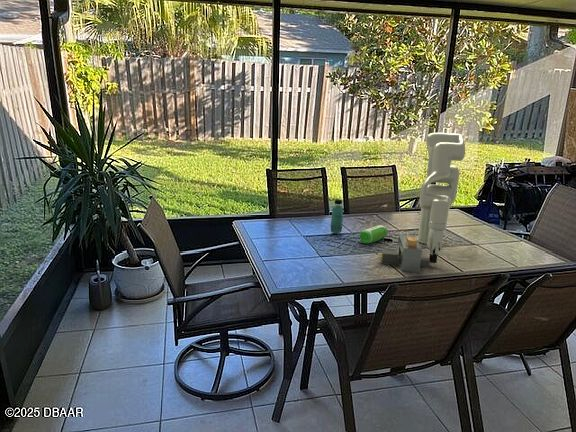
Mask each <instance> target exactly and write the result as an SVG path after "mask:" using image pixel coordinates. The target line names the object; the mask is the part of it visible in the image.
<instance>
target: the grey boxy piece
mask: <svg viewBox="0 0 576 432" xmlns="http://www.w3.org/2000/svg"><path fill="white" fill-rule="evenodd" d="M416 236H417V235H415V234H414V235H411V234H398V239H397V246H396V247H397V249H396V251H397V253H398V256H401V258H400V264H399V269H400V271H401V272H409V273H420V270H421V269H420V268H421V266H420V263H421V258H422V252H423V249H422V247H421V244H420V242H418V240H417V238H416Z"/></svg>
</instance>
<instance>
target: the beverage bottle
mask: <svg viewBox="0 0 576 432" xmlns="http://www.w3.org/2000/svg"><path fill="white" fill-rule="evenodd" d="M334 204H335V205H333V206H332V208H331V219H330V220H331V221H330V232H331V233H333V234H340V233H342V232H343V217H344V207H343V205H342V204H343V201H342V199H340V198H339V199H338V198H337V199H334Z"/></svg>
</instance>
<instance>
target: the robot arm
mask: <svg viewBox="0 0 576 432" xmlns="http://www.w3.org/2000/svg"><path fill="white" fill-rule="evenodd" d="M464 139H465V138H464V136H463V135H462V134H461V133H449V132H448V133H447V132H430V133H429V134H428V135H427V136H426V142H425V143H426V148H427V151H428V163H427V171H426V172H427V173H426V179H424V181H423V182H422V184H421V186H420V190H419V191H420V193H419V200H418V202H419V204H418V205H419V208H420V217H419V227H418V233H417V235H415V236H416V238H417V240H418V242H419V244H420V243H421V244H425V245H427V246H428V247H427V248H428V249H429V259H430V264H431V263H432V264H437V261H438V254H439V252H441V251H442V249H443V240H444V232H445V231H446V230H447V226H448V224H447V223H448V217H449V210H450V209H451V208H452V204H453V203H455V201H456V198H457V194H458V186H459V180H460V178H459V177H460V170H459V168H458V166H456V165H453V164H452V161H453V162H454V161H455V162H460V161H464V159H465V155H466V142H465V140H464ZM434 183H436V184H434ZM445 184H446V185H445Z"/></svg>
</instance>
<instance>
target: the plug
mask: <svg viewBox="0 0 576 432" xmlns="http://www.w3.org/2000/svg"><path fill="white" fill-rule="evenodd" d="M376 258H377V259H380V262H381V264H383V265H384V264H385V265H394V266H395V265H400V258H401V256H398V253H397V250H386V249H382V250H381V254H377V257H376ZM430 264H431V263H430V259H429V258H428V257H421V263H420V267H430V266H431V265H430Z"/></svg>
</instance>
